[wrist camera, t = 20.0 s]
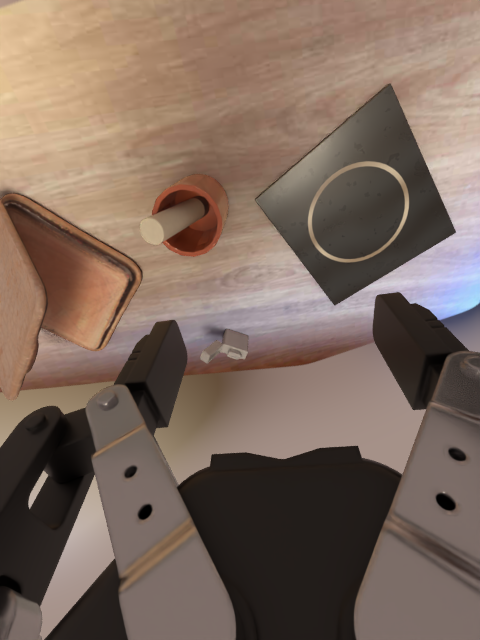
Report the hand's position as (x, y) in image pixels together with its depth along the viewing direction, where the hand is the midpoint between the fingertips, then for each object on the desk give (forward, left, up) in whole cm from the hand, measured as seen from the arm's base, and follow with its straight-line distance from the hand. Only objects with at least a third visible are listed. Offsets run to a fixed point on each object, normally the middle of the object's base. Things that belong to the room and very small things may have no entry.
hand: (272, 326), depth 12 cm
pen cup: (-4, -7, -30) cm, 31 cm away
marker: (-4, -7, -29) cm, 30 cm away
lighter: (+14, -18, -30) cm, 38 cm away
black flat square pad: (+10, +8, -30) cm, 33 cm away
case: (-10, -32, -30) cm, 45 cm away
